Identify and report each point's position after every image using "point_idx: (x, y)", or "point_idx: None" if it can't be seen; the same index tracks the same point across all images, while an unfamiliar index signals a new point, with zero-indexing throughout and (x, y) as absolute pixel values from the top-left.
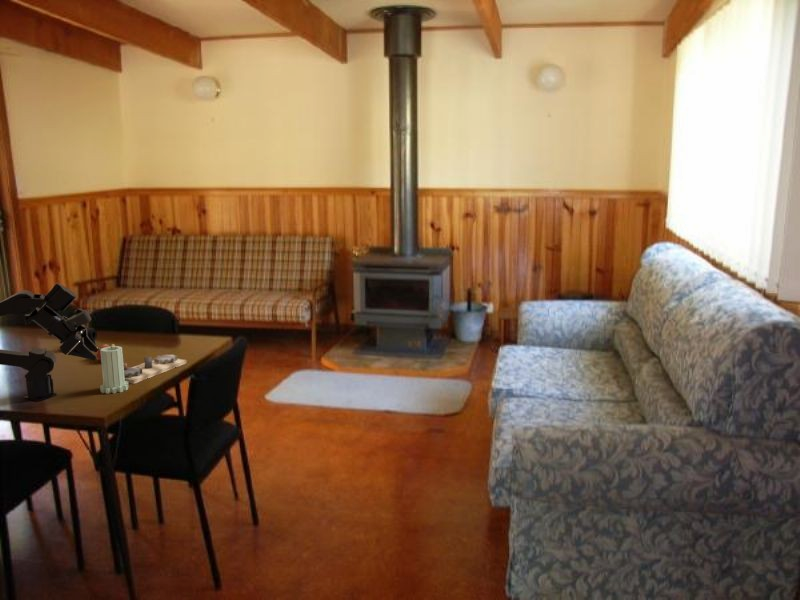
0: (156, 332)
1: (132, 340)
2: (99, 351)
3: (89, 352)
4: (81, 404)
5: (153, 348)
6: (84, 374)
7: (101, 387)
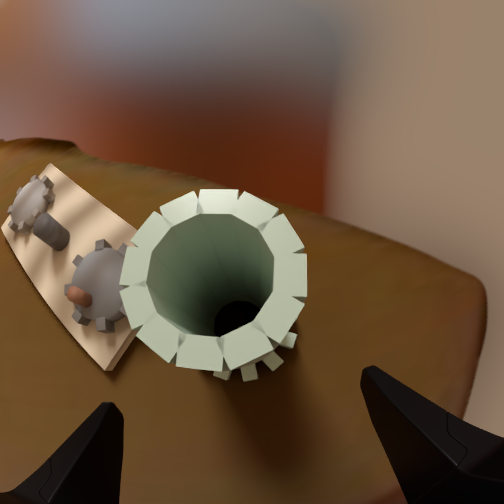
0: None
1: None
2: None
3: (427, 407)
4: None
5: None
6: (52, 441)
7: (256, 372)
